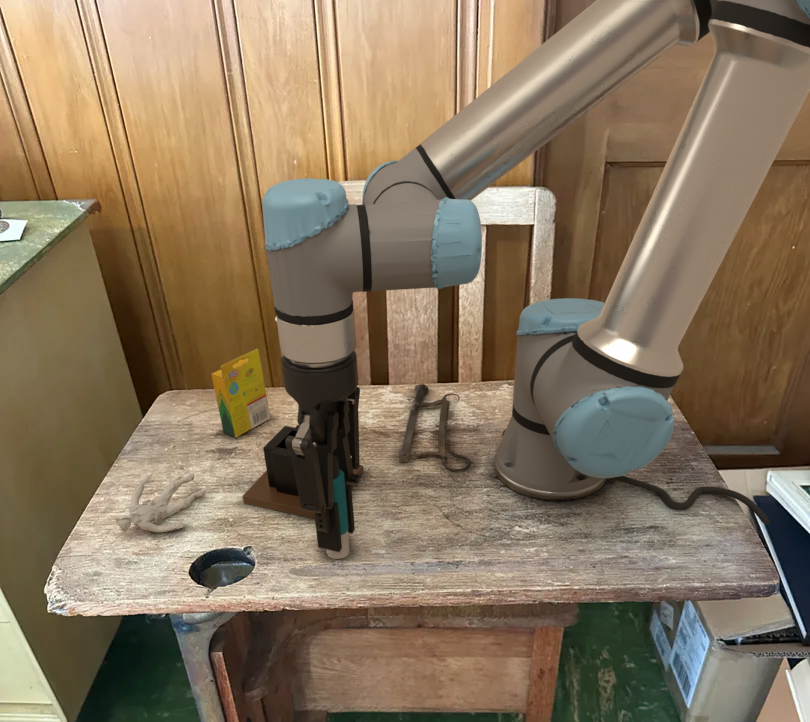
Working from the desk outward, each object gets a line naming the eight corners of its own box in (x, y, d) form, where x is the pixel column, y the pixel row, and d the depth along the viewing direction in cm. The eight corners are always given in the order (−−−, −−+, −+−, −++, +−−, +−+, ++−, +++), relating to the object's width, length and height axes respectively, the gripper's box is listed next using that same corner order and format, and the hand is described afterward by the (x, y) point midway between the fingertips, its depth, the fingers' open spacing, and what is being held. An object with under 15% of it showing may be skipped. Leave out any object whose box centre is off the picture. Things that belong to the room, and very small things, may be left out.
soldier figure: (219, 510, 100) (156, 536, 89) (197, 527, 102) (133, 555, 92) (186, 460, 100) (119, 481, 89) (165, 479, 102) (97, 501, 92)
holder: (364, 472, 104) (360, 426, 100) (326, 521, 96) (321, 473, 91) (286, 457, 108) (280, 412, 104) (243, 503, 99) (234, 456, 95)
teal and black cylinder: (354, 547, 92) (347, 455, 83) (344, 562, 89) (335, 469, 81) (332, 541, 92) (322, 450, 84) (321, 556, 90) (310, 464, 82)
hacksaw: (415, 389, 124) (415, 381, 123) (478, 391, 122) (479, 383, 121) (395, 469, 105) (395, 460, 104) (470, 473, 104) (470, 464, 103)
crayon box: (258, 413, 118) (247, 343, 111) (271, 419, 117) (261, 347, 110) (221, 432, 114) (207, 360, 107) (235, 439, 112) (221, 366, 105)
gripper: (320, 317, 82) (336, 496, 97) (243, 381, 70) (276, 573, 85) (384, 326, 80) (391, 507, 94) (316, 393, 68) (336, 588, 83)
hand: (336, 538), depth 90 cm, fingers closed on teal and black cylinder, 3 cm apart
